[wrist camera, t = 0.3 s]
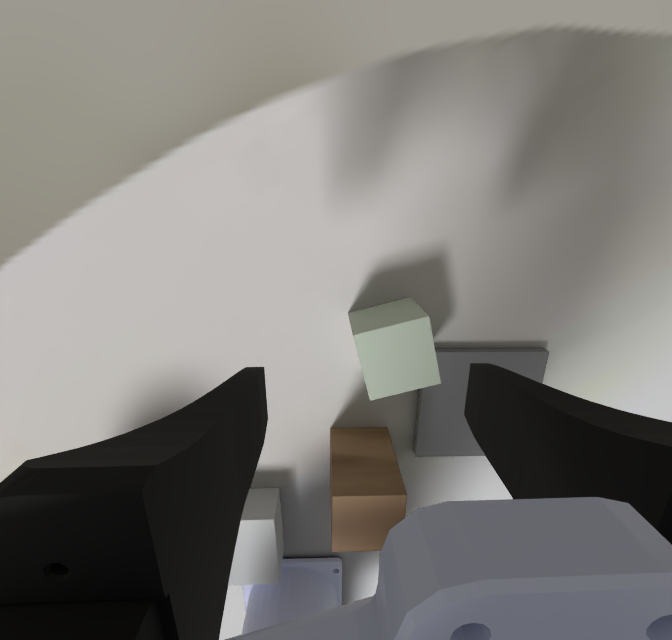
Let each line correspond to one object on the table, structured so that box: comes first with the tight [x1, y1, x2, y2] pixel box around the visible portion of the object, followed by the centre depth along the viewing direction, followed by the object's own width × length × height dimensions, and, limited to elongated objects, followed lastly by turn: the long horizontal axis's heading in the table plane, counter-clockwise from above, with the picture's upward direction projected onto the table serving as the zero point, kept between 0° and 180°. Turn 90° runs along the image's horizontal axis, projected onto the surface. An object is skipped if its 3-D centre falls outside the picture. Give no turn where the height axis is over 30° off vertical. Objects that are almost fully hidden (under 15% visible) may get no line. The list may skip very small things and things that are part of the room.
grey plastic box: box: [228, 488, 284, 585], centre depth 25 cm, size 6×5×3 cm
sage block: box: [348, 297, 441, 401], centre depth 20 cm, size 4×4×4 cm
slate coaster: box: [413, 348, 549, 457], centre depth 23 cm, size 8×8×1 cm
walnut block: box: [330, 427, 407, 552], centre depth 22 cm, size 4×4×6 cm
